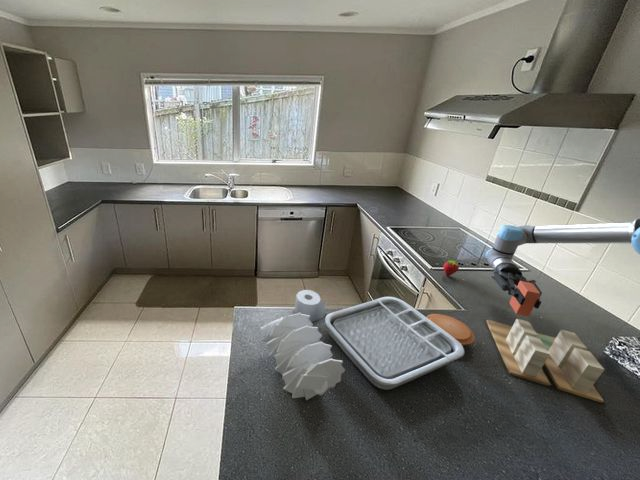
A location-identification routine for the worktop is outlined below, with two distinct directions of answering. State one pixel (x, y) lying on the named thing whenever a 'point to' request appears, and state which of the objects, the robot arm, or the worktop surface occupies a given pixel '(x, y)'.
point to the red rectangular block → (530, 299)
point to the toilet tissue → (310, 305)
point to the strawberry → (450, 267)
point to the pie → (453, 328)
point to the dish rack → (391, 341)
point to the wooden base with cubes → (521, 350)
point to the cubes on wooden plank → (572, 365)
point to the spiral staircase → (301, 356)
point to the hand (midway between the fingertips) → (530, 303)
